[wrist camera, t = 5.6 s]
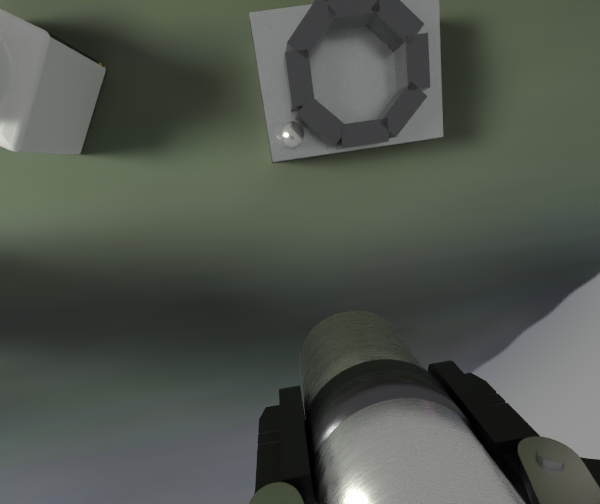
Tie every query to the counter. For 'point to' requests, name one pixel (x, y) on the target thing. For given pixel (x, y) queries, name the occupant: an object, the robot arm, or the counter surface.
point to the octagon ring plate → (348, 75)
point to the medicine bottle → (44, 90)
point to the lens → (387, 423)
